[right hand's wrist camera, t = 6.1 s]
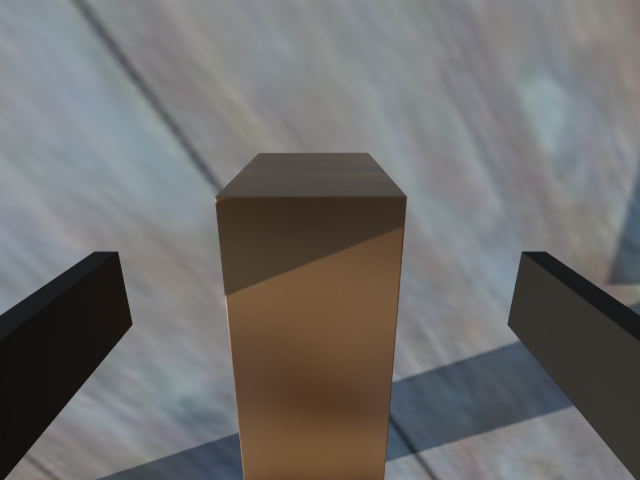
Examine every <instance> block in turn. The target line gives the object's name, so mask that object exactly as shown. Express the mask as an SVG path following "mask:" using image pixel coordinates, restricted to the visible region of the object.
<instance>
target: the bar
mask: <svg viewBox="0 0 640 480" xmlns="http://www.w3.org/2000/svg"><path fill="white" fill-rule="evenodd" d="M406 202H407V196H406V195H405V194H404V193H403V192H402V191H401V190H400V188H399V187H398V186H397V185H396V184H395V183H394V182H393V180H392V179H391V178H390V177H389V176H388V175H387V174H386V173H385V171H384V170H383V169H382V168H381V167H380V166H379V165H378V164H377V162H376V161H375V160H374V159H373V158H372V157H371V156H370V155H369V153H259V154H258V155H257V156H256V157H255V158H254V159H253V160H252V161H251V162H250V163H249V164H248V165H247V166H246V167H245V168H244V169H243V170H242V171H241V172H240V173H239V174H238V175H237V176H236V177H235V178H234V179H233V180H232V181H231V182H230V183H229V184H228V185H227V186H226V187H225V188H224V189H223V190H222V191H221V192H220V193H219V194H218V195H217V196H216V197H215V203H216V213H217V223H218V232H219V242H220V252H221V261H222V271H223V281H224V291H225V300H226V310H227V320H228V330H229V339H230V349H231V359H232V368H233V378H234V388H235V398H236V407H237V417H238V427H239V437H240V446H241V456H242V466H243V475H244V480H384V473H385V461H386V449H387V436H388V424H389V412H390V399H391V387H392V375H393V362H394V350H395V338H396V325H397V313H398V300H399V288H400V276H401V263H402V251H403V239H404V226H405V214H406Z"/></svg>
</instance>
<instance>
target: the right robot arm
mask: <svg viewBox="0 0 640 480" xmlns="http://www.w3.org/2000/svg"><path fill="white" fill-rule="evenodd" d="M132 325H133V324H132V319H131V314H130V309H129V304H128V299H127V294H126V289H125V284H124V279H123V274H122V269H121V264H120V259H119V254H118V252H93V253H92V254H90V255H89V256H87V257H86V258H84V259H83V260H81V261H80V262H78V263H77V264H75V265H74V266H73V267H71V268H70V269H68V270H67V271H65V272H64V273H62V274H61V275H59V276H58V277H56V278H55V279H53V280H52V281H50V282H49V283H48V284H46V285H45V286H43V287H42V288H40V289H39V290H37V291H36V292H34V293H33V294H31V295H30V296H28V297H27V298H25V299H24V300H23V301H21V302H20V303H18V304H17V305H15V306H14V307H12V308H11V309H9V310H8V311H6V312H5V313H3V314H2V315H0V480H4V479H5V478H6V477H7V476H8V474H9V473H10V472H11V471H12V469H13V468H14V467H15V466H16V465H17V463H18V462H19V461H20V460H21V459H22V457H23V456H24V455H25V454H26V453H27V451H28V450H29V449H30V448H31V447H32V445H33V444H34V443H35V442H36V441H37V439H38V438H39V437H40V436H41V434H42V433H43V432H44V431H45V430H46V428H47V427H48V426H49V425H50V424H51V422H52V421H53V420H54V419H55V418H56V416H57V415H58V414H59V413H60V412H61V410H62V409H63V408H64V407H65V406H66V404H67V403H68V402H69V401H70V399H71V398H72V397H73V396H74V395H75V393H76V392H77V391H78V390H79V389H80V387H81V386H82V385H83V384H84V383H85V381H86V380H87V379H88V378H89V377H90V375H91V374H92V373H93V372H94V371H95V369H96V368H97V367H98V366H99V364H100V363H101V362H102V361H103V360H104V358H105V357H106V356H107V355H108V354H109V352H110V351H111V350H112V349H113V348H114V346H115V345H116V344H117V343H118V342H119V340H120V339H121V338H122V337H123V336H124V334H125V333H126V332H127V331H128V330H129V328H130V327H131V326H132ZM507 325H508V326H509V327H510V328H511V330H512V331H513V332H514V333H515V334H516V336H517V337H518V338H519V339H520V340H521V342H522V343H523V344H524V345H525V346H526V348H527V349H528V350H529V351H530V352H531V354H532V355H533V356H534V357H535V358H536V360H537V361H538V362H539V363H540V365H541V366H542V367H543V368H544V369H545V371H546V372H547V373H548V374H549V375H550V377H551V378H552V379H553V380H554V381H555V383H556V384H557V385H558V386H559V387H560V389H561V390H562V391H563V392H564V393H565V395H566V396H567V397H568V398H569V399H570V401H571V402H572V403H573V404H574V406H575V407H576V408H577V409H578V410H579V412H580V413H581V414H582V415H583V416H584V418H585V419H586V420H587V421H588V422H589V424H590V425H591V426H592V427H593V428H594V430H595V431H596V432H597V433H598V434H599V436H600V437H601V438H602V439H603V441H604V442H605V443H606V444H607V445H608V447H609V448H610V449H611V450H612V451H613V453H614V454H615V455H616V456H617V457H618V459H619V460H620V461H621V462H622V463H623V465H624V466H625V467H626V468H627V469H628V471H629V472H630V473H631V474H632V476H633V477H634V478H635V479H636V480H640V315H638V314H637V313H635V312H634V311H632V310H631V309H629V308H628V307H626V306H625V305H623V304H622V303H620V302H619V301H617V300H616V299H615V298H613V297H612V296H610V295H609V294H607V293H606V292H604V291H603V290H601V289H600V288H598V287H597V286H595V285H594V284H592V283H591V282H590V281H588V280H587V279H585V278H584V277H582V276H581V275H579V274H578V273H576V272H575V271H573V270H572V269H570V268H569V267H567V266H566V265H565V264H563V263H562V262H560V261H559V260H557V259H556V258H554V257H553V256H551V255H550V254H548V253H547V252H522V254H521V259H520V264H519V269H518V274H517V279H516V284H515V289H514V294H513V299H512V304H511V309H510V314H509V319H508V324H507Z"/></svg>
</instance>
